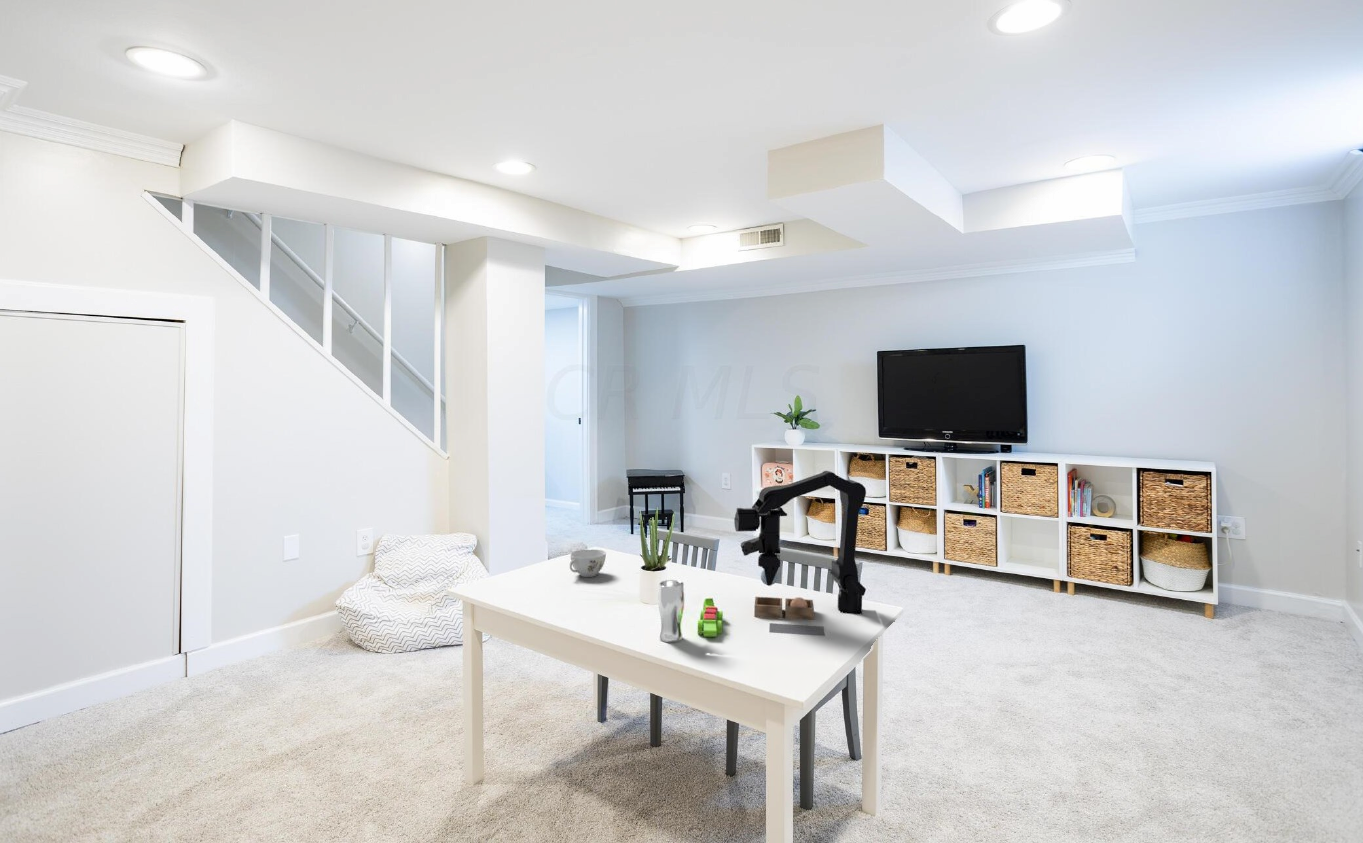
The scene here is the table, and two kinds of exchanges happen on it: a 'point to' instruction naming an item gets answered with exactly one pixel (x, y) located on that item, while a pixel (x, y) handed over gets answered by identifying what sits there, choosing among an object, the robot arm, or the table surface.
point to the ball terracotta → (799, 602)
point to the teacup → (587, 562)
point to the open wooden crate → (768, 607)
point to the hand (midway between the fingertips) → (769, 582)
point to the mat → (797, 629)
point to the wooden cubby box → (799, 610)
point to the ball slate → (765, 578)
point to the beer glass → (671, 610)
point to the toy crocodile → (710, 619)
